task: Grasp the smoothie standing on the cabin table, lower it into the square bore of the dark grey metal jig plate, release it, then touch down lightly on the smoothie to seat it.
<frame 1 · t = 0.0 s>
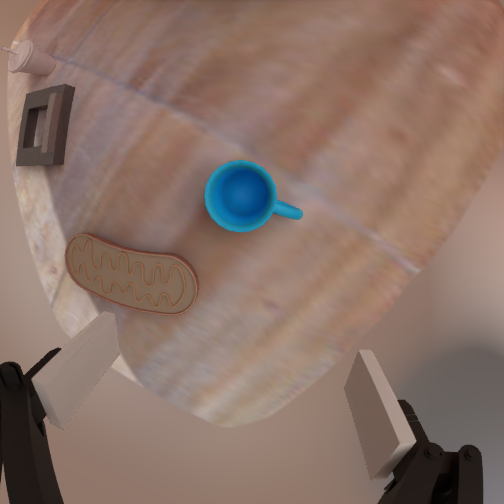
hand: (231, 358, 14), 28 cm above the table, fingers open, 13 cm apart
jig: (47, 127, 38), on the table
mug: (258, 197, 40), on the table
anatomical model: (136, 266, 44), on the table
smoothie: (50, 67, 35), on the table
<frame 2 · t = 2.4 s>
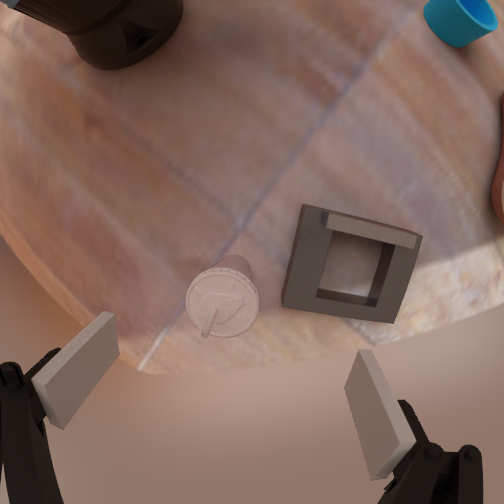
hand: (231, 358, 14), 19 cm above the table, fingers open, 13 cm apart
jig: (349, 263, 32), on the table
mug: (447, 17, 22), on the table
smoothie: (234, 269, 33), on the table
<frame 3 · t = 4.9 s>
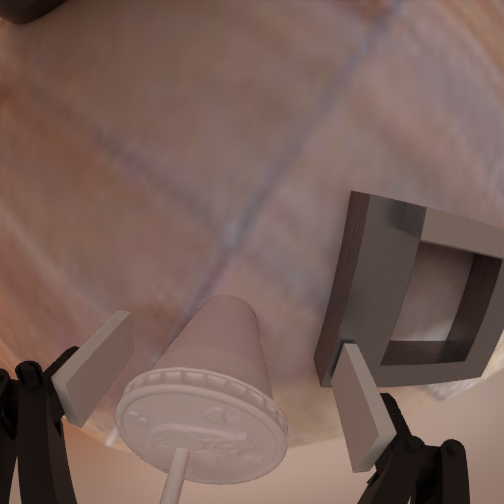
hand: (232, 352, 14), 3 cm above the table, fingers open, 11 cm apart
jig: (426, 293, 17), on the table
smoothie: (227, 321, 18), on the table
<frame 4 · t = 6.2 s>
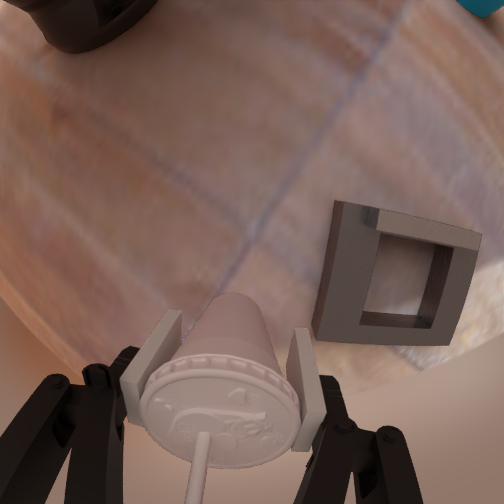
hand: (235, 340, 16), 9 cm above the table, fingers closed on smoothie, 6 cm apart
jig: (396, 275, 23), on the table
smoothie: (233, 316, 19), point 6 cm above the table, touching gripper
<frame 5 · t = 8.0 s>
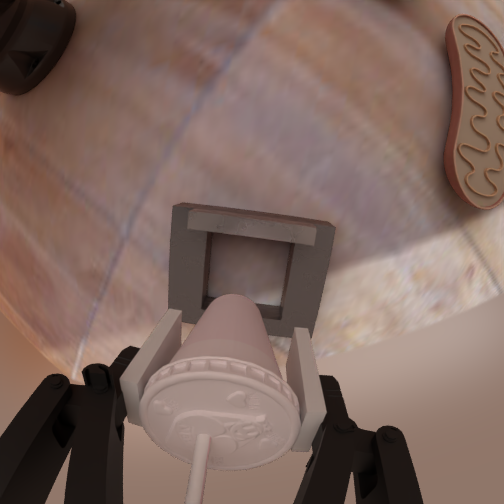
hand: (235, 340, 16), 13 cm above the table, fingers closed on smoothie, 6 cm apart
jig: (247, 267, 28), on the table
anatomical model: (463, 109, 22), on the table
smoothie: (233, 318, 19), point 10 cm above the table, touching gripper
when the fingers open (4 cm above the table, at t = 10.0 s): smoothie drops 1 cm, resting in jig.
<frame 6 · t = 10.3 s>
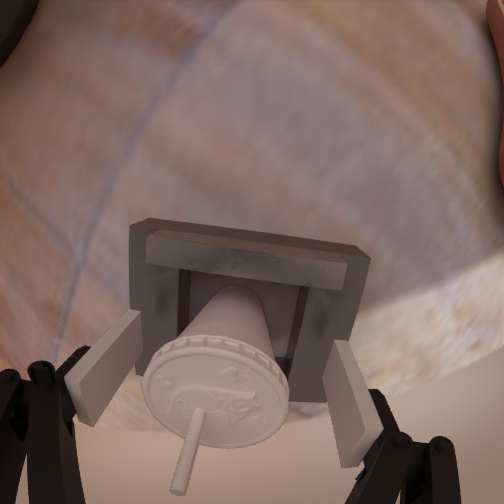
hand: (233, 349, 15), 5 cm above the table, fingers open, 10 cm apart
jig: (241, 308, 20), on the table
smoothie: (236, 308, 20), resting in jig
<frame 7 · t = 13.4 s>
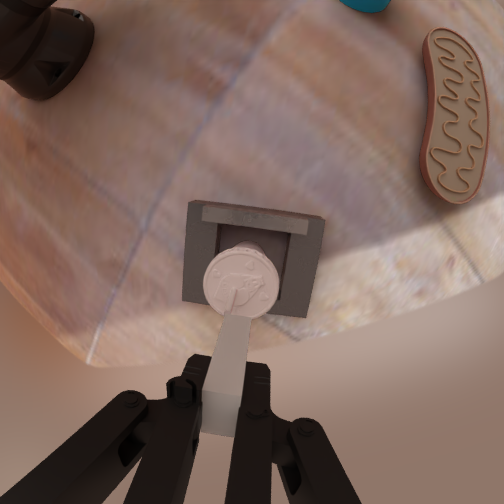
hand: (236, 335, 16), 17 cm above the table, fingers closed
jig: (251, 255, 33), on the table
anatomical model: (440, 114, 27), on the table
smoothie: (248, 255, 33), resting in jig
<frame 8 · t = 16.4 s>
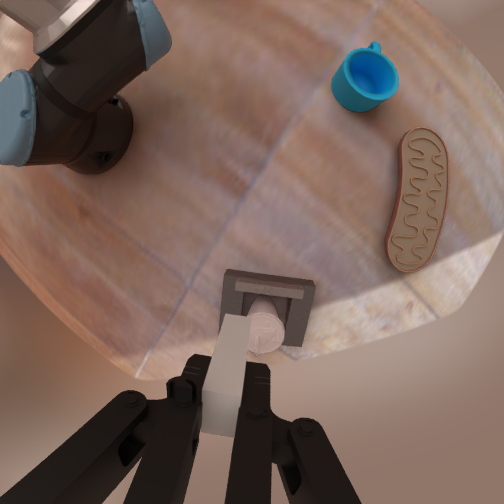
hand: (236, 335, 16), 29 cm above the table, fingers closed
jig: (265, 305, 47), on the table
mug: (358, 80, 37), on the table
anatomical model: (408, 197, 42), on the table
smoothie: (263, 305, 48), resting in jig
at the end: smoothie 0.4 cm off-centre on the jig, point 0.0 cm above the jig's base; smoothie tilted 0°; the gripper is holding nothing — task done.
